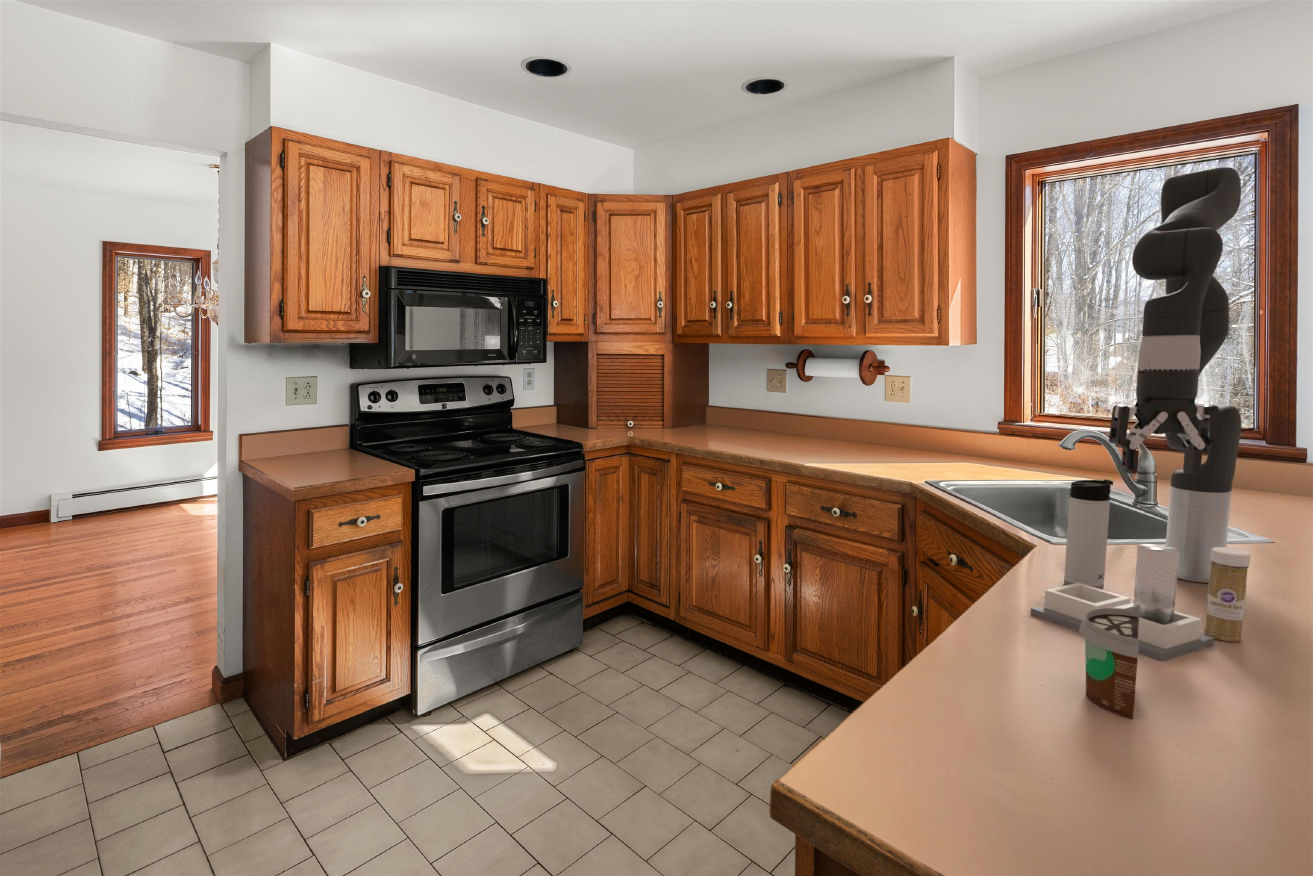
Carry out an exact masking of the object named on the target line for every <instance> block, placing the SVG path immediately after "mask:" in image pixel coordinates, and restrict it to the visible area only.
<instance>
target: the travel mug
mask: <svg viewBox="0 0 1313 876" xmlns="http://www.w3.org/2000/svg"><path fill="white" fill-rule="evenodd" d="M1111 486H1114V481H1113V480H1110V479H1103V480H1102V479H1085V480H1084V479H1082V480H1075V481H1072V482H1071V485H1070V488H1069V489H1070V493H1069V494H1070V495H1069V501H1068V514H1067V515H1068V517H1067V531H1066V532H1067V533H1066V547H1065V548H1066V549H1065V561H1064V577H1063V578H1064V579H1063V584H1064V586H1066V585H1071V584H1075V583H1081V584H1084V585H1088V586H1091V587H1095V588H1098V589H1101V590H1104V587H1105V581H1104V580H1105V572H1106V559H1107V546H1108V532H1109V520H1110V507H1111V505H1110V502H1111V496H1110V494H1111V488H1112V487H1111Z"/></svg>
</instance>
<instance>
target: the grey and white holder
mask: <svg viewBox="0 0 1313 876" xmlns="http://www.w3.org/2000/svg"><path fill="white" fill-rule="evenodd" d="M1101 608H1122V609H1132V610H1133V602H1131V597H1128V596H1124V595H1122V594H1117V593H1114V592H1111V591H1108V590H1104V589H1103V590H1101V589H1098V588H1095V587H1091V586H1088V585H1084V584H1081V583H1075V584H1071V585H1063V586H1057V587H1052V588H1048V589H1045V590H1044V604H1042V605H1039V606H1035V607H1030V615H1033V616H1035V617H1037V616H1038V617H1037V618H1041V619H1043V618H1044V619H1043V620H1046V619H1047V620H1046V621H1048V622H1051V621H1052V623H1054V622H1056V623H1055V624H1057V623H1058V625H1060V626H1062V625H1064V626H1063V627H1065V626H1066V627H1065V628H1068V627H1069V628H1068V629H1071V628H1072V629H1071V630H1074V629H1075V630H1074V631H1076V630H1077V632H1079V629H1080V626H1081V623H1082V620H1083V618H1084V617H1085V616H1086V614H1087V613H1088V612H1089V611H1091V610H1095V609H1101ZM1201 626H1202V618H1199V617H1195V616H1192V615H1188V614H1187V613H1182V612H1179V611H1175V610H1174V621H1173V623H1169V624H1166V625H1162V624H1159V623H1156V622H1152V621H1149V620H1146V619H1143V618H1140V617H1139V629H1138V639H1139V650H1138V654H1140V655H1144V656H1146V657H1149V658H1153V659H1155V660H1157V661H1161V662H1162V661H1166V660H1168V659H1171V658H1174V657H1178V656H1181V655H1184V654H1187V653H1191V652H1194V651H1197V650H1200V649H1199V648H1201V649H1203V648H1207V647H1210V646H1213V645H1214V644H1215V643H1214V642H1215V638H1213V637H1210V636H1208V635H1206V634H1204V633H1203V634H1202V633H1201ZM1209 645H1210V646H1209ZM1206 646H1207V647H1206Z"/></svg>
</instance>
